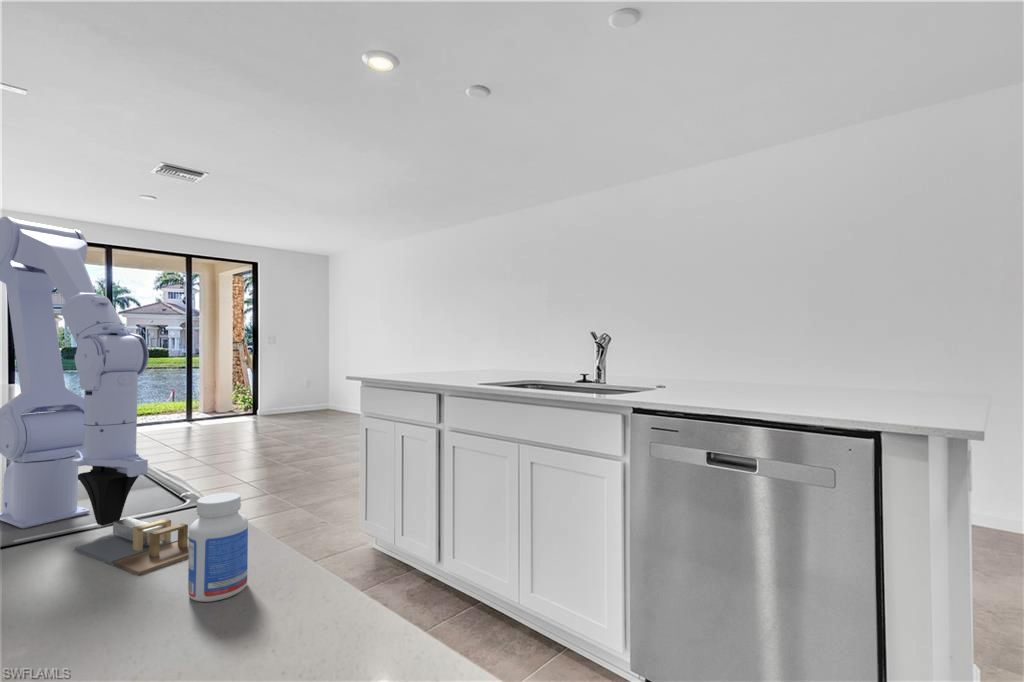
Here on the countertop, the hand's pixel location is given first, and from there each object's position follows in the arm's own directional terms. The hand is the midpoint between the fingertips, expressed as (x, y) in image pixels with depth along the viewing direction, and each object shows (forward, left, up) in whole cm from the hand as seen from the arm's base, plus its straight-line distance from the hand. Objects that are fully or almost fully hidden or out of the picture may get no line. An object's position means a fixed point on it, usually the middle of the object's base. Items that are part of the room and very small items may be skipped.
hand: (108, 522), depth 69 cm
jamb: (+15, 0, -1) cm, 15 cm away
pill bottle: (+29, -3, -2) cm, 29 cm away
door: (+7, 0, -1) cm, 8 cm away
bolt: (+7, 0, -1) cm, 7 cm away
